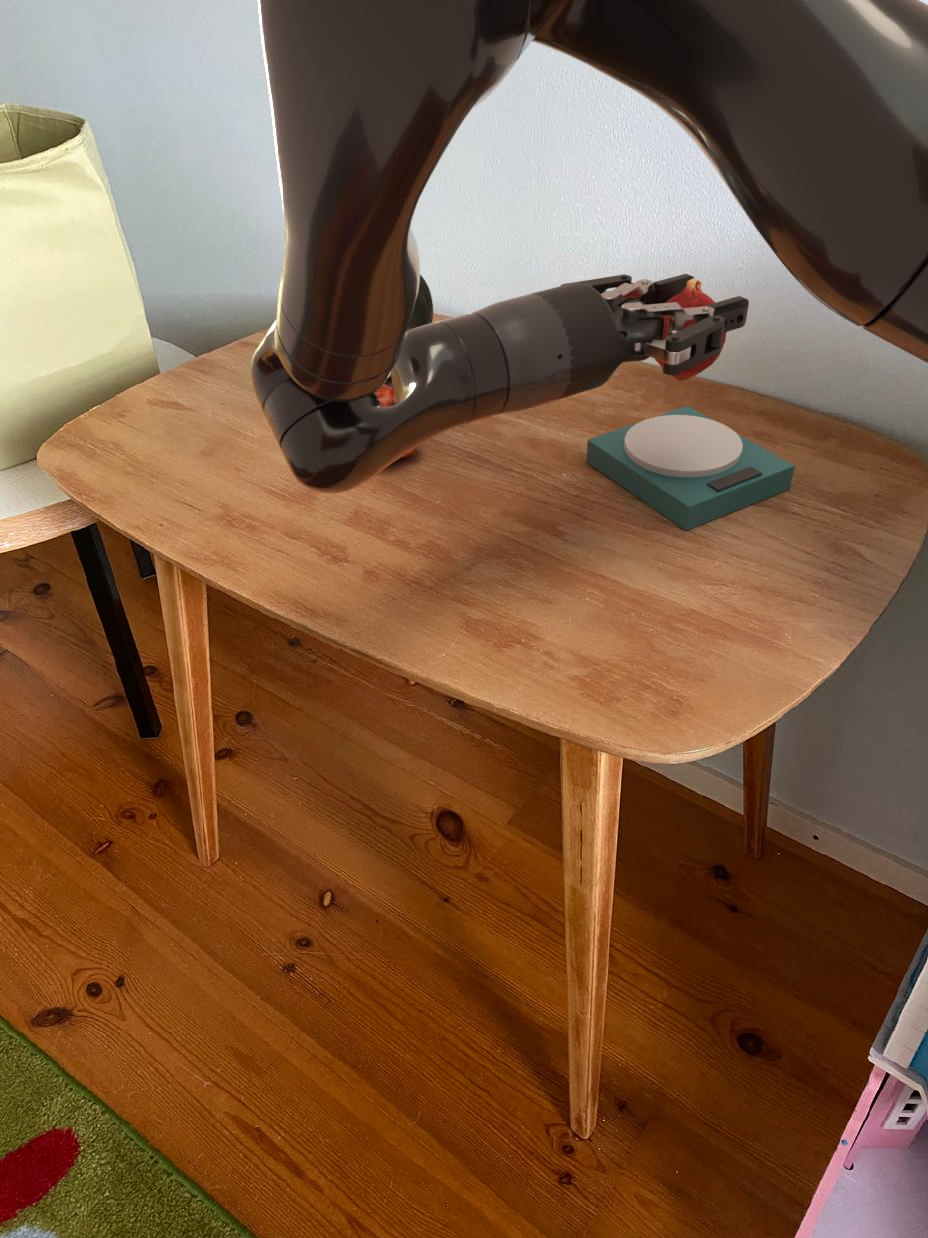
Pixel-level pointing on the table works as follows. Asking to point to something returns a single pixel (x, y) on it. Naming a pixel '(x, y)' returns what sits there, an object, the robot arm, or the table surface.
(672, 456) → the scale
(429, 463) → the table surface
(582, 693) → the table surface
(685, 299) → the onion
